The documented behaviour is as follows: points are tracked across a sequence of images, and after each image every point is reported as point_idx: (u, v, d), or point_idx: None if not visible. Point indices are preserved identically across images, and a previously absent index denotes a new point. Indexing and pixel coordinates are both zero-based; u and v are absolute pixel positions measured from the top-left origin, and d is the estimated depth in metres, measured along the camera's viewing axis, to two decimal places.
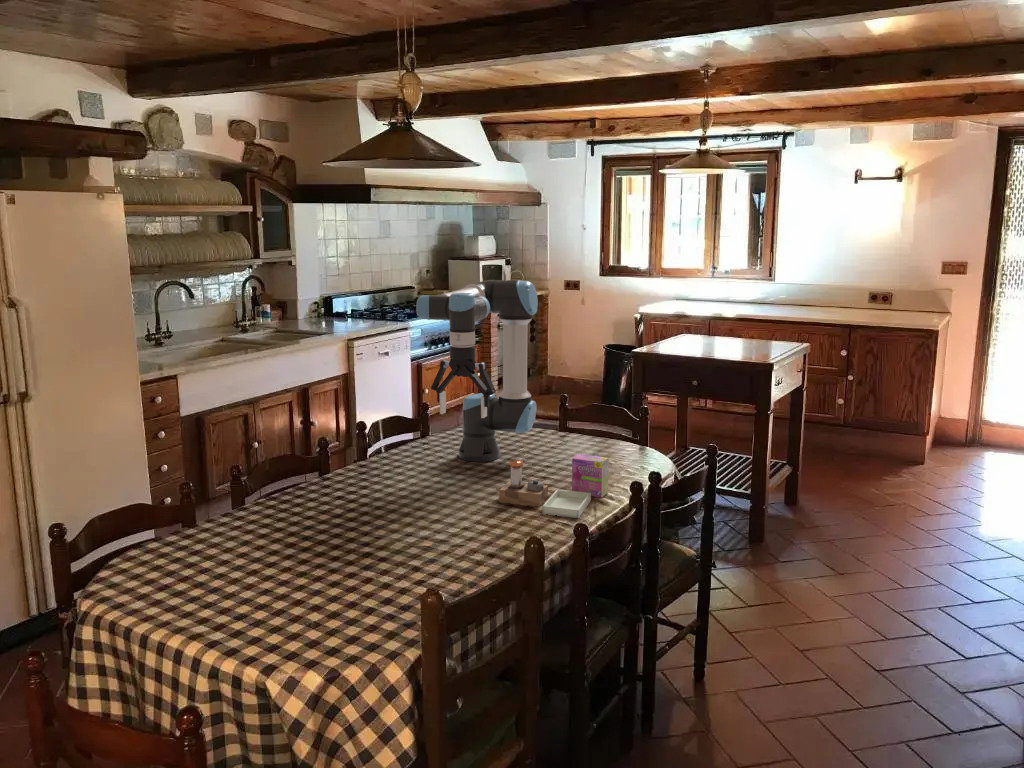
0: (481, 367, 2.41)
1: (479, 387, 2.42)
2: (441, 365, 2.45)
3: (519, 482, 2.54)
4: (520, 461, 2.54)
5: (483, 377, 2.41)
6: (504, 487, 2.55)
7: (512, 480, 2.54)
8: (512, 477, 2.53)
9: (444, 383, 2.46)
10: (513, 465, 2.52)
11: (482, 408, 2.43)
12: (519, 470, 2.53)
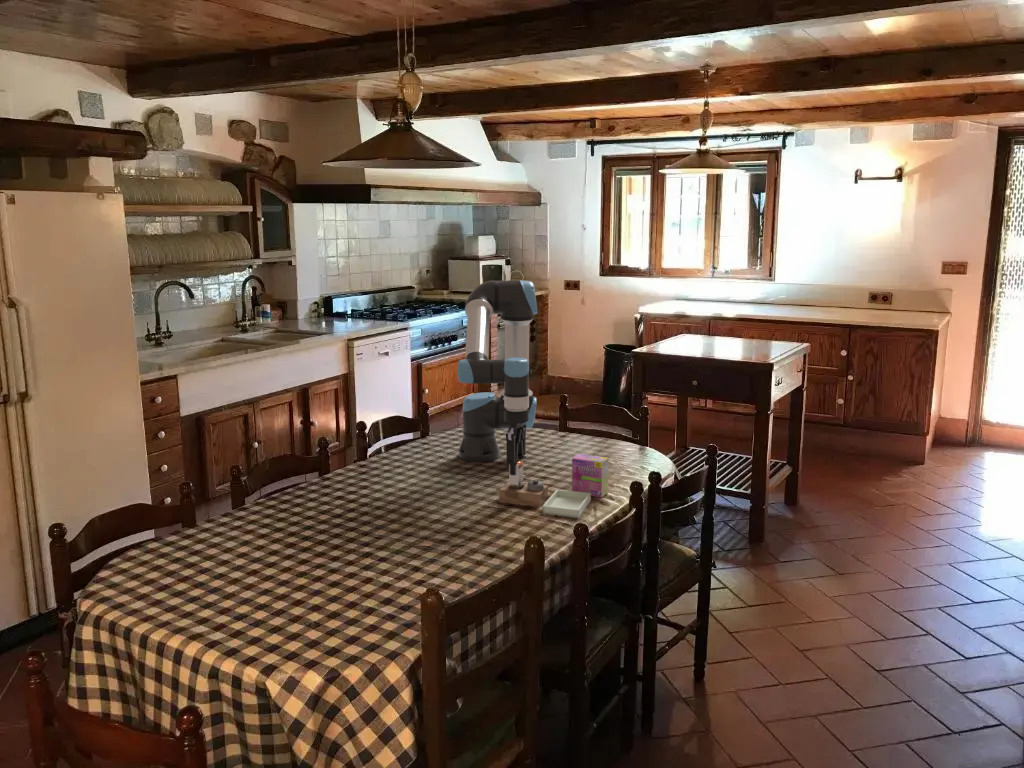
0: None
1: None
2: None
3: (519, 482, 2.54)
4: (520, 461, 2.54)
5: None
6: (504, 487, 2.55)
7: None
8: None
9: None
10: None
11: None
12: (519, 470, 2.53)
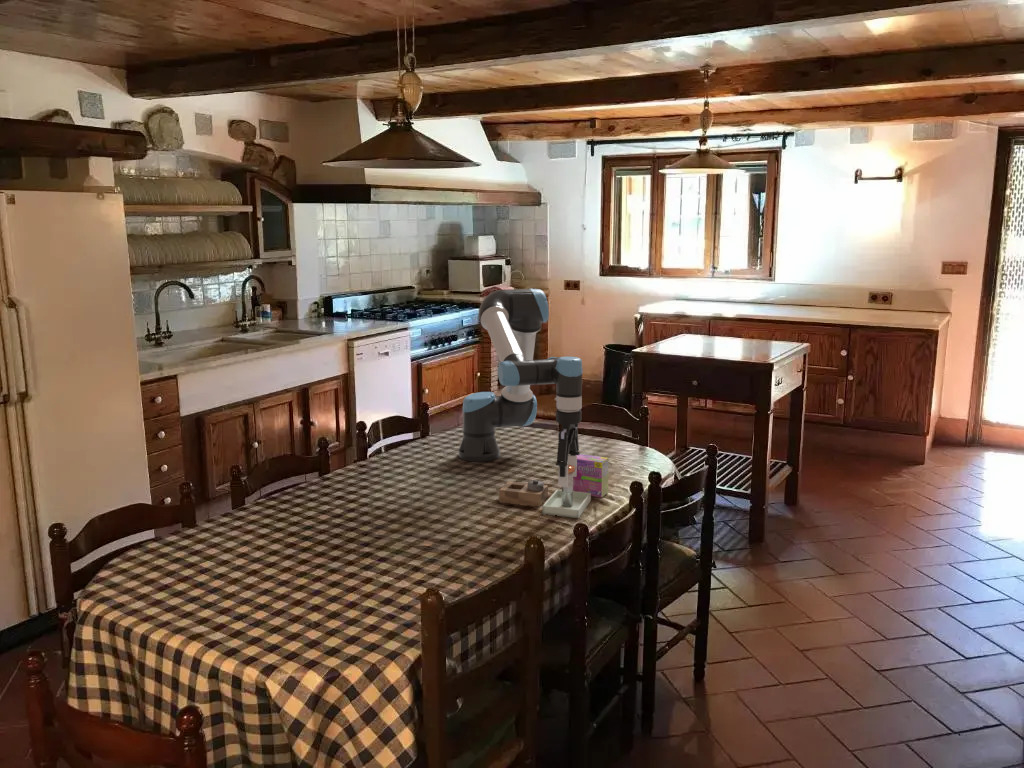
0: None
1: None
2: None
3: (571, 488, 2.46)
4: (572, 466, 2.46)
5: None
6: (504, 487, 2.55)
7: None
8: None
9: None
10: None
11: None
12: (571, 476, 2.46)
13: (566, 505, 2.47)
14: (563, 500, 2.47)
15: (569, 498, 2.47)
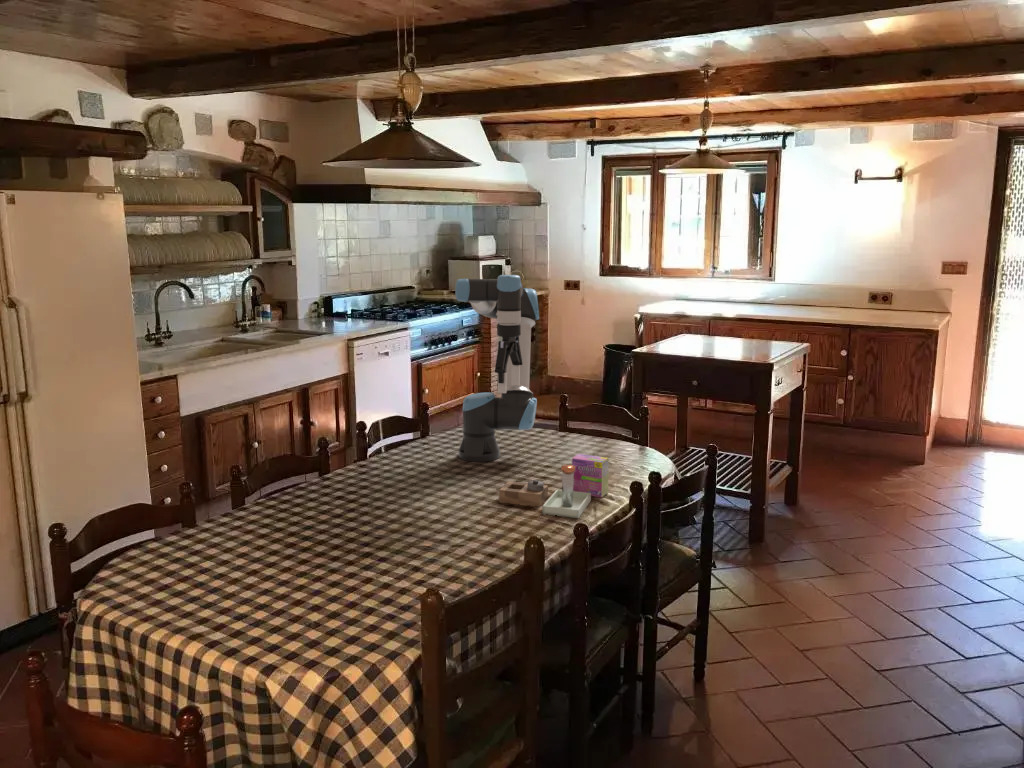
0: None
1: None
2: None
3: (571, 488, 2.46)
4: (572, 466, 2.47)
5: None
6: (504, 487, 2.55)
7: (564, 486, 2.46)
8: (564, 483, 2.46)
9: None
10: (565, 470, 2.45)
11: None
12: (571, 475, 2.46)
13: (566, 505, 2.47)
14: (563, 500, 2.47)
15: (569, 498, 2.47)
